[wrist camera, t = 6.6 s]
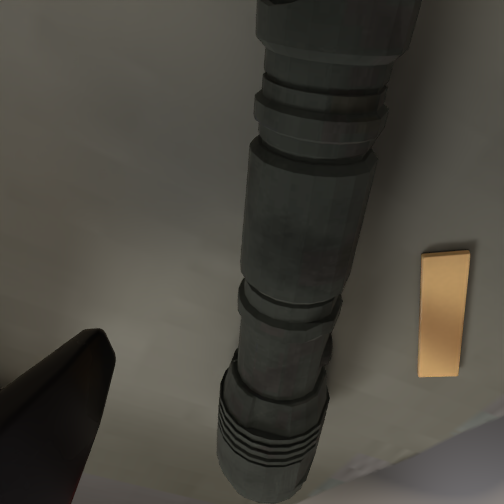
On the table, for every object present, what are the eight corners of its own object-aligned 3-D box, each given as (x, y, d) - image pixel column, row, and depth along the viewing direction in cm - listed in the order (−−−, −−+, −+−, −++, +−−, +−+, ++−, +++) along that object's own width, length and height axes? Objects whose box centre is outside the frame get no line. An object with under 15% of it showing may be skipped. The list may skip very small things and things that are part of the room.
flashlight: (224, 408, 25) (206, 498, 20) (253, -26, 13) (227, -23, 9) (312, 421, 24) (312, 515, 20) (419, -10, 13) (470, 0, 9)
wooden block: (421, 253, 18) (422, 257, 18) (468, 249, 17) (470, 253, 17) (417, 372, 21) (418, 377, 21) (456, 371, 21) (458, 376, 21)
